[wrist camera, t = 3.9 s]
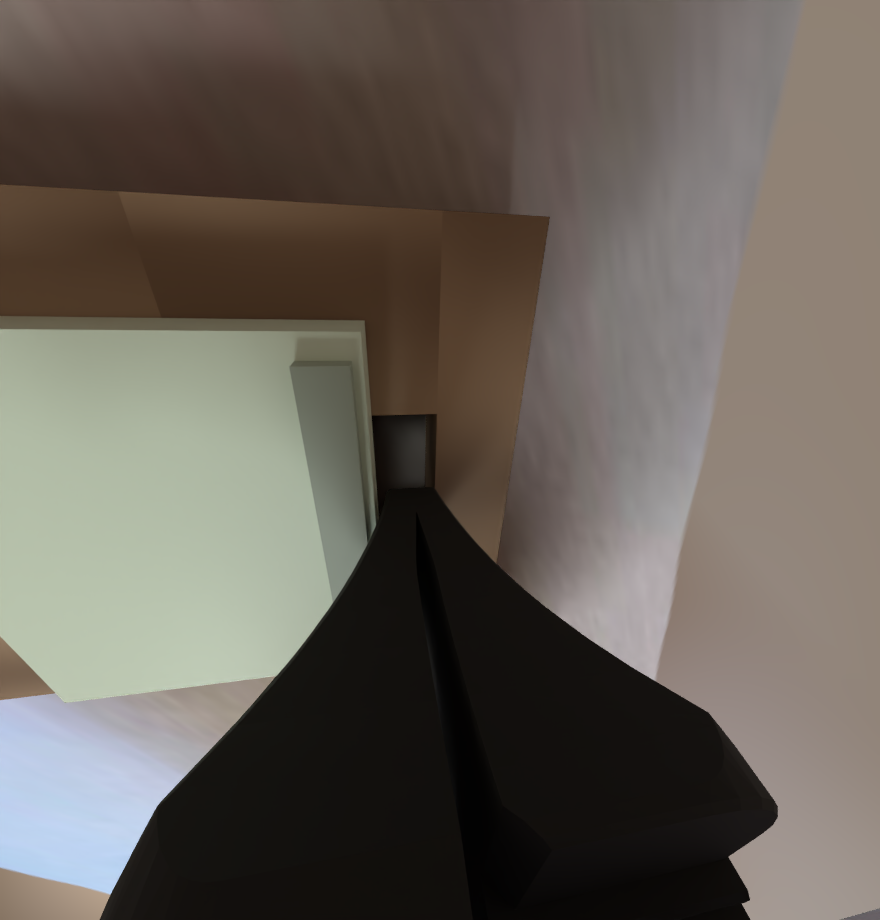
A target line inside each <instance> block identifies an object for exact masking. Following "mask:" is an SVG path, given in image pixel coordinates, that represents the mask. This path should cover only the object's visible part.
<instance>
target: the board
mask: <svg viewBox="0 0 880 920" xmlns="http://www.w3.org/2000/svg"><path fill="white" fill-rule="evenodd" d="M549 219H550V217H545V216H528V215H511V214H494V213H477V212H460V211H443V210H426V209H409V208H393V207H376V206H359V205H342V204H325V203H308V202H291V201H274V200H257V199H240V198H223V197H206V196H189V195H172V194H155V193H138V192H122V191H105V190H88V189H71V188H54V187H37V186H20V185H3V184H0V316H44V317H125V318H206V319H287V320H365V333H366V347H367V361H368V374H369V388H370V402H371V415H372V416H376V415H414V414H426V447H425V487H433V488H434V489H435V490H437V492H438V494H439V495H440V497H441V498H442V500H443V501H444V503H445V504H446V505H447V507H448V508H449V510H450V511H451V512H452V514H453V515H454V516H455V517H456V519H457V520H458V521H459V523H460V524H461V525H462V526H463V527H464V529H465V530H466V531H467V532H468V533H469V534H470V536H471V537H472V538H473V539H474V540H475V541H476V543H477V544H478V545H479V546H480V547H481V548H482V549H483V550H484V551H485V552H486V553H487V554H488V555H489V556H490V558H491V559H492V560H493V561H494V562H495V563H497V557H498V550H499V544H500V537H501V531H502V524H503V518H504V511H505V505H506V498H507V492H508V485H509V479H510V472H511V466H512V459H513V453H514V446H515V440H516V433H517V427H518V420H519V414H520V407H521V401H522V394H523V388H524V381H525V375H526V368H527V362H528V355H529V349H530V342H531V336H532V329H533V323H534V316H535V310H536V303H537V297H538V290H539V284H540V277H541V271H542V264H543V258H544V251H545V245H546V238H547V232H548V225H549ZM53 693H55V692H54V691H53V690H52V689H51V688H50V687H49V686H48V685H47V684H46V683H45V682H44V681H43V680H42V679H41V678H40V677H39V676H38V675H37V674H36V673H35V672H34V671H33V669H32V668H31V667H30V666H29V665H28V664H27V663H26V662H25V661H24V660H23V659H22V658H21V657H20V656H19V655H18V654H17V653H16V652H15V651H14V650H13V649H12V648H11V647H10V646H9V645H8V644H7V643H6V642H5V641H4V640H3V639H2V638H1V637H0V700H5V699H13V698H21V697H29V696H37V695H45V694H53Z"/></svg>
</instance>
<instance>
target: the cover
mask: <svg viewBox="0 0 880 920" xmlns="http://www.w3.org/2000/svg"><path fill="white" fill-rule="evenodd" d="M378 520H379V511H378V497H377V484H376V470H375V456H374V443H373V429H372V415H371V402H370V388H369V374H368V361H367V347H366V333H365V320H287V319H206V318H125V317H44V316H0V637H1V638H2V639H3V640H4V641H5V642H6V643H7V644H8V645H9V646H10V647H11V648H12V649H13V650H14V651H15V652H16V653H17V654H18V655H19V656H20V657H21V658H22V659H23V660H24V661H25V662H26V663H27V664H28V665H29V666H30V667H31V668H32V669H33V671H34V672H35V673H36V674H37V675H38V676H39V677H40V678H41V679H42V680H43V681H44V682H45V683H46V684H47V685H48V686H49V687H50V688H51V689H52V690H53V691H54V692H55V693H56V694H57V695H58V696H59V697H60V698H61V699H62V700H63V701H64V702H65V703H68V702H76V701H84V700H92V699H100V698H108V697H115V696H123V695H131V694H139V693H147V692H154V691H162V690H170V689H178V688H186V687H194V686H201V685H209V684H217V683H225V682H233V681H241V680H248V679H256V678H264V677H272V676H277V675H278V674H279V672H280V671H281V670H282V669H283V668H284V667H285V665H286V664H287V663H288V662H289V661H290V660H291V658H292V657H293V656H294V655H295V653H296V652H297V651H298V650H299V648H300V647H301V646H302V644H303V643H304V642H305V641H306V639H307V638H308V637H309V635H310V634H311V633H312V631H313V630H314V629H315V627H316V626H317V624H318V623H319V622H320V620H321V619H322V618H323V616H324V615H325V613H326V612H327V611H328V609H329V608H330V606H331V605H332V603H333V602H334V600H335V599H336V597H337V596H338V594H339V593H340V591H341V590H342V588H343V587H344V585H345V583H346V582H347V580H348V579H349V577H350V575H351V574H352V572H353V570H354V568H355V567H356V565H357V563H358V561H359V559H360V557H361V555H362V554H363V552H364V550H365V548H366V546H367V544H368V542H369V540H370V538H371V536H372V533H373V531H374V529H375V527H376V524H377V522H378Z"/></svg>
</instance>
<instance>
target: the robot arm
mask: <svg viewBox="0 0 880 920" xmlns="http://www.w3.org/2000/svg"><path fill="white" fill-rule="evenodd" d="M777 817H778V806H777V805H776V803H775V801H774V799H773V798H772V797H771V796H770V794H769V793H768V791H767V790H766V788H765V787H764V786H763V784H762V783H761V781H760V780H759V779H758V777H757V776H756V775H755V773H754V772H753V770H752V769H751V768H750V766H749V765H748V763H747V762H746V761H745V759H744V758H743V756H742V755H741V754H740V752H739V751H738V749H737V748H736V747H735V745H734V744H733V743H732V742H731V740H730V739H729V738H728V737H727V735H726V734H725V733H724V731H722V729H721V728H720V726H719V725H718V724H717V723H716V722H715V720H714V719H713V718H712V717H711V715H710V714H709V713H708V712H706V711H705V710H703V709H701V708H700V707H698V706H696V705H694V704H693V703H691V702H689V701H688V700H686V699H684V698H683V697H681V696H679V695H678V694H676V693H674V692H672V691H671V690H669V689H667V688H666V687H664V686H662V685H661V684H659V683H657V682H656V681H654V680H652V679H650V678H649V677H647V676H645V675H644V674H642V673H640V672H639V671H637V670H635V669H634V668H632V667H630V666H629V665H627V664H626V663H624V662H623V661H621V660H620V659H618V658H617V657H615V656H614V655H612V654H611V653H609V652H608V651H606V650H604V649H603V648H601V647H600V646H598V645H597V644H595V643H594V642H592V641H591V640H589V639H588V638H587V637H585V636H584V635H582V634H581V633H580V632H578V631H577V630H576V629H574V628H573V627H572V626H570V625H569V624H568V623H566V622H565V621H564V620H562V619H561V618H559V617H558V616H557V615H555V614H554V613H553V612H551V611H550V610H549V609H547V608H546V607H545V606H543V605H542V604H541V603H540V602H539V601H537V600H536V599H535V598H534V597H533V596H531V595H530V594H529V593H528V592H527V591H525V590H524V589H523V588H522V587H521V586H520V585H519V584H518V583H516V582H515V581H514V580H513V579H512V578H511V577H510V576H509V575H508V574H507V573H506V572H504V571H503V570H502V569H501V568H500V567H499V566H498V565H497V564H496V563H495V562H494V561H493V560H492V559H491V558H490V556H489V555H488V554H487V553H486V552H485V551H484V550H483V549H482V548H481V547H480V546H479V545H478V544H477V543H476V541H475V540H474V539H473V538H472V537H471V536H470V534H469V533H468V532H467V531H466V530H465V529H464V527H463V526H462V525H461V524H460V523H459V521H458V520H457V519H456V517H455V516H454V515H453V514H452V512H451V511H450V510H449V508H448V507H447V505H446V504H445V503H444V501H443V500H442V498H441V497H440V495H439V494H438V492H437V490H435V489H434V488H433V487H423V488H404V489H390V490H389V491H388V492H387V493H386V498H385V502H384V506H383V509H382V512H381V514H380V517H379V520H378V522H377V524H376V527H375V529H374V531H373V533H372V536H371V538H370V540H369V542H368V544H367V546H366V548H365V550H364V552H363V554H362V555H361V557H360V559H359V561H358V563H357V565H356V567H355V568H354V570H353V572H352V574H351V575H350V577H349V579H348V580H347V582H346V583H345V585H344V587H343V588H342V590H341V591H340V593H339V594H338V596H337V597H336V599H335V600H334V602H333V603H332V605H331V606H330V608H329V609H328V611H327V612H326V613H325V615H324V616H323V618H322V619H321V620H320V622H319V623H318V624H317V626H316V627H315V629H314V630H313V631H312V633H311V634H310V635H309V637H308V638H307V639H306V641H305V642H304V643H303V644H302V646H301V647H300V648H299V650H298V651H297V652H296V653H295V655H294V656H293V657H292V658H291V660H290V661H289V662H288V663H287V664H286V665H285V667H284V668H283V669H282V670H281V671H280V672H279V674H278V675H277V676H276V677H275V678H274V680H273V681H272V682H271V683H270V684H269V685H268V687H267V688H266V689H265V690H264V691H263V693H262V694H261V695H260V696H259V697H258V698H257V700H256V701H255V702H254V703H253V704H252V705H251V707H250V708H249V709H248V710H247V711H246V712H245V713H244V714H243V715H242V717H241V718H240V719H239V720H238V721H237V722H236V723H235V724H234V725H233V726H232V727H231V728H230V730H229V731H228V732H227V733H226V734H225V735H224V736H223V737H222V738H221V739H220V740H219V741H218V742H217V743H216V744H215V745H214V746H213V747H212V749H211V750H210V751H209V752H208V753H207V754H206V755H205V756H204V757H203V758H202V759H201V760H200V761H199V762H198V763H197V764H196V765H195V766H194V768H193V769H192V770H191V771H190V772H189V773H188V774H187V775H186V776H185V777H184V778H183V779H182V780H181V781H180V782H179V783H178V784H177V785H176V787H175V788H174V789H173V790H172V791H171V792H170V793H169V794H168V795H167V796H166V797H165V798H164V799H163V800H162V801H161V802H160V804H159V805H158V806H157V808H156V810H155V811H154V813H153V815H152V817H151V819H150V820H149V822H148V824H147V826H146V828H145V830H144V832H143V834H142V835H141V837H140V839H139V841H138V843H137V845H136V847H135V849H134V850H133V852H132V854H131V857H130V859H129V861H128V862H127V864H126V866H125V868H124V870H123V872H122V874H121V876H120V878H119V880H118V881H117V883H116V885H115V887H114V889H113V891H112V893H111V895H110V897H109V899H108V902H107V904H106V906H105V909H104V911H103V913H102V916H101V918H100V920H750V918H749V916H748V915H747V913H746V911H745V909H744V907H743V906H742V904H741V903H745V902H747V901H749V900H750V898H749V894H748V890H747V888H746V887H745V885H744V883H743V881H742V880H741V878H740V876H739V875H738V873H737V871H736V869H735V868H734V866H733V864H732V863H731V861H730V860H729V858H728V856H730V855H731V854H733V853H734V852H736V851H737V850H739V849H740V848H742V847H743V846H745V845H746V844H748V843H749V842H751V841H752V840H754V839H755V838H756V837H758V836H759V835H761V834H762V833H764V832H765V831H766V830H767V829H768V828H770V827H771V826H772V825H773V824H774V822H775V820H776V819H777ZM841 920H880V908H879V909H876V910H872V911H869V912H866V913H862V914H858V915H855V916H851V917H848V918H844V919H841Z"/></svg>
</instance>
